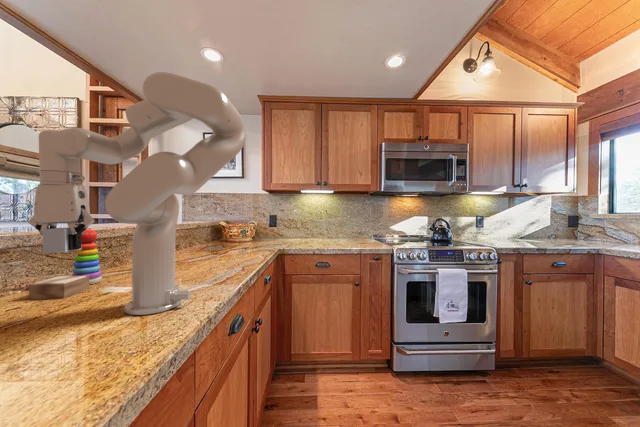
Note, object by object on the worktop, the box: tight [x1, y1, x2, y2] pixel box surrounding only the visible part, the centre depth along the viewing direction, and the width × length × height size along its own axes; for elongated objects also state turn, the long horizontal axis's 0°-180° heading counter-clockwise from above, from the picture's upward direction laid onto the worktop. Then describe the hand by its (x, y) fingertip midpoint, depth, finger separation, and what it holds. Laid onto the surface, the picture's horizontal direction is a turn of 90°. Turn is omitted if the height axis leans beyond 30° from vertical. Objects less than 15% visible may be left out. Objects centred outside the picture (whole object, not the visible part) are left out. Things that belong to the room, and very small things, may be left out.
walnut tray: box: [28, 275, 90, 300], centre depth 76 cm, size 9×9×4 cm
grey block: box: [42, 227, 82, 254], centre depth 66 cm, size 5×5×6 cm
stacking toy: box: [71, 228, 103, 286], centre depth 87 cm, size 8×8×19 cm
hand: (63, 249), depth 66 cm, fingers closed on grey block, 5 cm apart
